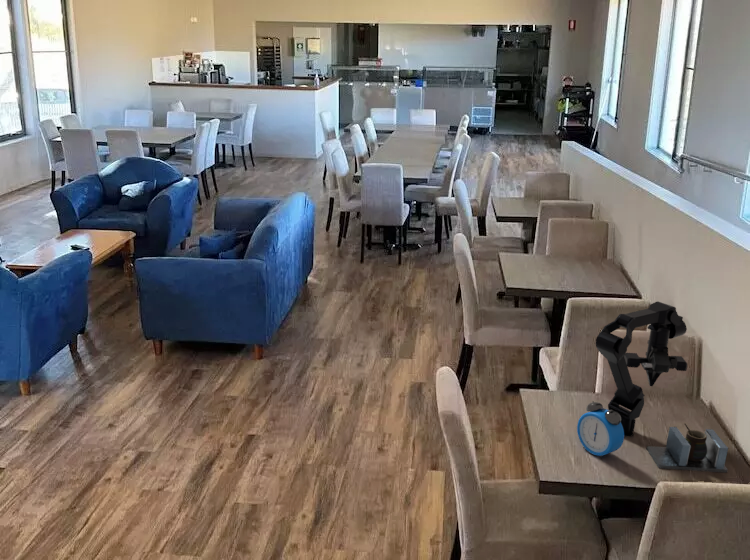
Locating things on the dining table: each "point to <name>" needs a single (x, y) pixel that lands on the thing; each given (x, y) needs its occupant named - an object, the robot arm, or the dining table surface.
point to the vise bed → (710, 463)
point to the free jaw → (678, 446)
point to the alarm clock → (600, 430)
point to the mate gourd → (696, 445)
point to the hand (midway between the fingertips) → (650, 385)
